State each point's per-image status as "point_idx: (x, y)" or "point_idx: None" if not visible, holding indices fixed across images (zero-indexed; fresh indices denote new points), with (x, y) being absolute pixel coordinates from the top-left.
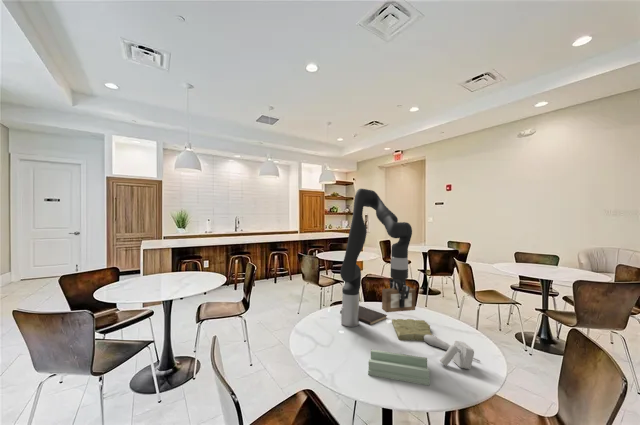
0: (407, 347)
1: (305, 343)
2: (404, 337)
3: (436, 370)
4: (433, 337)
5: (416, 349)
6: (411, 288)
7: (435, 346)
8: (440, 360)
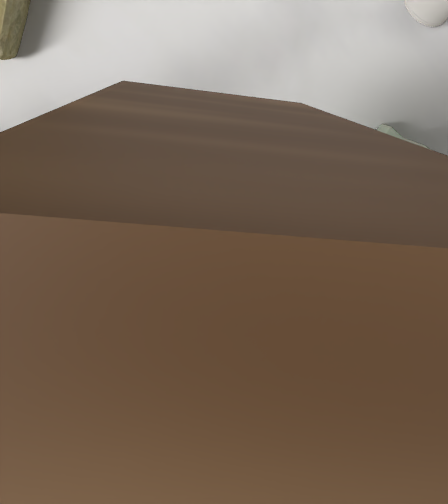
0: (146, 75)
1: None
2: (20, 10)
3: (428, 89)
4: None
5: (190, 27)
6: (318, 363)
7: None
8: (426, 19)
